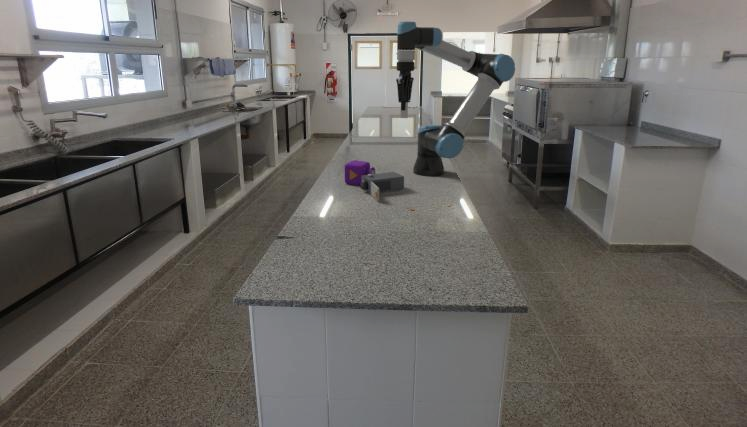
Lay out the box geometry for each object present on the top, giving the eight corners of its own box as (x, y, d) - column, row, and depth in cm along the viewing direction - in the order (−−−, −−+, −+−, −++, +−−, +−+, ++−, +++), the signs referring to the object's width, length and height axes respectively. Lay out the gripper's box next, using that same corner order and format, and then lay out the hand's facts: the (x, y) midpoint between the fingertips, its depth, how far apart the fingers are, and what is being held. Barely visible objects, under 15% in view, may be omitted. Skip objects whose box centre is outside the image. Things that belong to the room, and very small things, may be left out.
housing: (393, 184, 219) (393, 170, 217) (403, 189, 212) (404, 174, 210) (358, 189, 212) (358, 174, 210) (367, 194, 204) (367, 179, 202)
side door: (379, 201, 195) (379, 187, 193) (375, 201, 195) (375, 188, 193) (372, 193, 205) (372, 181, 203) (369, 194, 204) (369, 181, 202)
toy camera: (373, 187, 216) (373, 165, 212) (343, 185, 218) (342, 163, 215) (377, 181, 226) (378, 159, 222) (349, 179, 228) (348, 158, 225)
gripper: (404, 60, 212) (402, 115, 220) (390, 61, 202) (389, 118, 209) (420, 60, 209) (417, 116, 217) (407, 61, 198) (405, 120, 206)
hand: (404, 117), depth 213 cm, fingers closed
